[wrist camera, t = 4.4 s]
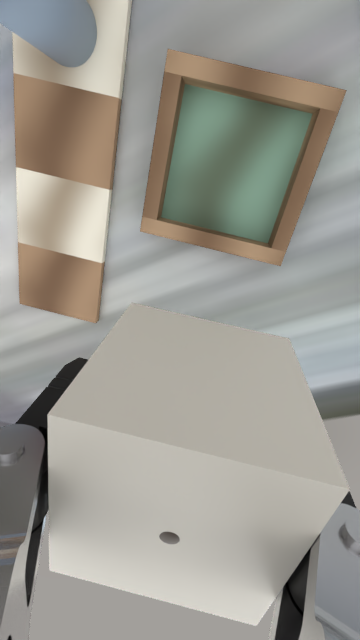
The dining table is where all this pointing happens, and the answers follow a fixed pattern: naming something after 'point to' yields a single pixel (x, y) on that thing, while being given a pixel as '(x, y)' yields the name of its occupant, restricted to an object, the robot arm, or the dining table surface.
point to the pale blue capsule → (53, 27)
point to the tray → (234, 155)
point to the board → (67, 165)
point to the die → (189, 465)
